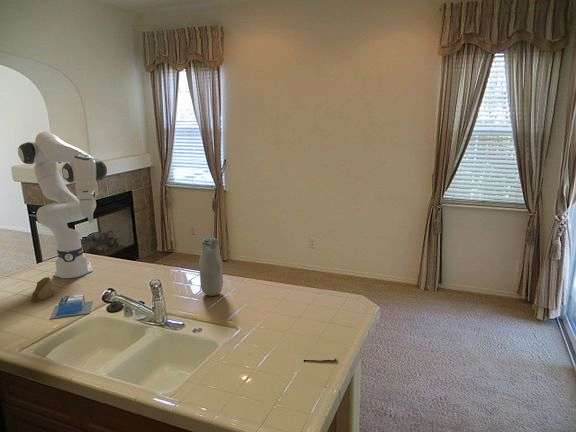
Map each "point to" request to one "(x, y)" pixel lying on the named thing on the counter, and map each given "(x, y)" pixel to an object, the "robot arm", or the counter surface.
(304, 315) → the counter surface
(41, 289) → the rock
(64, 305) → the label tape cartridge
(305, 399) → the counter surface
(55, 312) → the mat
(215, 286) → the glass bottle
